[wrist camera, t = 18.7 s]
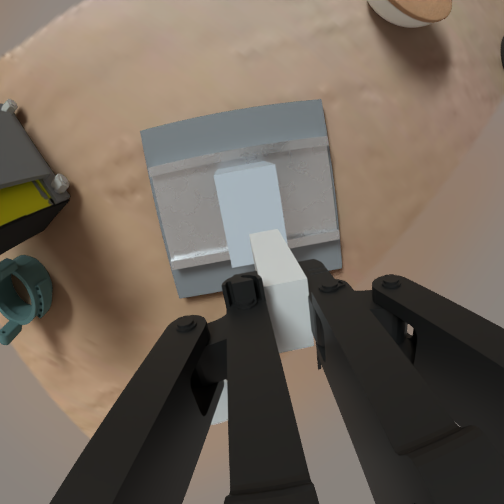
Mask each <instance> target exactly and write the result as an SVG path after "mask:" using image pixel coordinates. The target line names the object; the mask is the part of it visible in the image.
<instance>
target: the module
mask: <svg viewBox="0 0 504 504" xmlns="http://www.w3.org/2000/svg"><path fill="white" fill-rule="evenodd" d="M214 180H215V185H216V190H217V195H218V200H219V205H220V210H221V215H222V220H223V225H224V230H225V235H226V240H227V245H228V250H229V255H230V260H231V264H232V268H234V267H240V266H245V265H251V264H254V259H253V253H252V248H251V242H250V237H249V234H252V233H258V232H263V231H269V230H274V229H278V230H279V232H280V233H281V235H282V237H283V238H284V240H285V242H286V243H287V237H286V230H285V223H284V217H283V210H282V204H281V197H280V191H279V185H278V178H277V172H276V166H275V164H272V163H269V162H266V161H262V162H256V163H250V164H245V165H239V166H234V167H228V168H223V169H218V170H217V171H216V172H215V174H214ZM287 245H288V244H287Z"/></svg>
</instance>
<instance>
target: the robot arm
mask: <svg viewBox="0 0 504 504" xmlns="http://www.w3.org/2000/svg"><path fill="white" fill-rule="evenodd" d="M501 57H502V63H503V67H504V37H503V39H502V43H501ZM249 237H250V242H251V248H252V253H253V259H254V264H255V270H256V271H251V272H246V273H241V274H235V275H233V277H230V278H228V279H227V280H225V281H224V282H223V283H222V285H221V286H222V291H223V295H224V299H225V304H226V308H227V314H226V315H225V316H223V317H222V318H220V319H218V320H216V321H213V322H210V323H208V324H207V322H206V320H205V318H204V317H201V316H198V315H190V316H183V317H180V318H178V319H176V320H175V321H173V322H172V323H171V324H169V325H168V327H167V328H166V329H165V331H164V332H163V334H162V335H161V337H160V338H159V339H158V341H157V342H156V344H155V345H154V347H153V348H152V350H151V351H150V352H149V354H148V355H147V357H146V358H145V360H144V361H143V363H142V364H141V365H140V367H139V368H138V370H137V371H136V373H135V374H134V376H133V377H132V379H131V380H130V381H129V383H128V384H127V386H126V387H125V389H124V390H123V392H122V393H121V395H120V396H119V398H118V399H117V401H116V402H115V404H114V405H113V407H112V408H111V410H110V411H109V413H108V414H107V416H106V417H105V419H104V420H103V422H102V423H101V425H100V426H99V428H98V429H97V431H96V432H95V434H94V435H93V437H92V438H91V440H90V441H89V443H88V444H87V446H86V447H85V449H84V451H83V452H82V453H81V455H80V457H79V458H78V460H77V461H76V463H75V464H74V466H73V467H72V469H71V470H70V472H69V474H68V475H67V477H66V478H65V480H64V481H63V483H62V485H61V486H60V488H59V489H58V491H57V492H56V494H55V496H54V497H53V499H52V500H51V502H50V504H182V502H183V500H184V497H185V494H186V492H187V489H188V486H189V483H190V481H191V478H192V475H193V472H194V470H195V467H196V464H197V461H198V458H199V456H200V453H201V450H202V447H203V444H204V442H205V439H206V436H207V433H208V430H209V427H210V425H211V422H212V419H213V416H214V414H215V411H216V408H217V405H218V402H219V399H220V396H221V394H222V391H223V388H224V380H225V379H227V394H228V435H229V466H230V494H229V495H228V496H226V497H225V501H224V504H319V501H318V498H317V494H316V491H315V487H314V485H313V483H312V482H311V479H310V476H309V472H308V468H307V464H306V460H305V456H304V452H303V448H302V444H301V439H300V435H299V432H298V427H297V423H296V419H295V416H294V411H293V407H292V403H291V399H290V395H289V391H288V387H287V383H286V379H285V375H284V371H283V367H282V363H281V359H280V355H279V353H282V352H287V351H292V350H297V349H301V348H306V347H311V346H314V343H313V342H314V341H313V336H314V338H315V340H316V347H317V361H318V369H321V365H322V367H323V369H324V372H325V375H326V377H327V379H328V382H329V385H330V387H331V389H332V392H333V395H334V397H335V399H336V402H337V405H338V407H339V409H340V412H341V415H342V417H343V420H344V422H345V425H346V427H347V430H348V432H349V435H350V438H351V440H352V443H353V445H354V448H355V451H356V453H357V456H358V458H359V461H360V464H361V466H362V469H363V471H364V474H365V477H366V479H367V482H368V485H369V487H370V490H371V493H372V495H373V498H374V501H375V503H376V504H504V329H503V328H502V327H500V326H498V325H496V324H494V323H492V322H490V321H489V320H487V319H485V318H483V317H481V316H479V315H477V314H475V313H474V312H472V311H470V310H468V309H466V308H464V307H462V306H460V305H458V304H456V303H454V302H452V301H450V300H449V299H447V298H445V297H443V296H441V295H439V294H437V293H435V292H433V291H431V290H429V289H427V288H425V287H423V286H421V285H419V284H417V283H415V282H413V281H411V280H409V279H407V278H405V277H402V276H397V275H393V274H390V275H385V276H381V277H378V278H377V279H375V280H374V281H373V282H372V290H365V291H354V290H353V289H352V287H351V286H350V285H349V284H348V283H347V282H345V281H343V280H339V279H334V277H333V276H332V275H331V273H330V272H329V271H328V270H327V268H326V267H325V266H324V264H323V263H322V262H321V261H318V260H316V259H310V260H305V261H299V262H297V260H296V259H295V257H294V255H293V254H292V252H291V250H290V248H289V247H288V245H287V243H286V242H285V240H284V238H283V237H282V235H281V233H280V232H279V230H278V229H274V230H269V231H263V232H258V233H252V234H249ZM408 324H410V325H411V326H412V327H413V328H414V330H413V336H412V335H410V334H408V333H407V325H408ZM454 421H455V422H456V423H457V424H458V425H459V426H460V427H459V426H458V425H457V424H456V423H455V422H454Z"/></svg>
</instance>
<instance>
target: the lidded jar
mask: <svg viewBox="0 0 504 504" xmlns="http://www.w3.org/2000/svg"><path fill="white" fill-rule="evenodd" d="M367 1H368V3H369V4H370V6H371V7H372V8H373V10H374V11H375V12H376V13H377V14H378V15H379V16H381V17H382V18H383V19H385V20H387V21H388V22H390V23H393V24H395V25H398V26H401V27H408V28H416V27H423V26H427V25H430V24H432V23H434V22H439V21H441V20H443V19H445V18H446V17H447V16H448V15H449V14H450V12H451V9H452V0H367Z"/></svg>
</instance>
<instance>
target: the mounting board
mask: <svg viewBox="0 0 504 504" xmlns="http://www.w3.org/2000/svg"><path fill="white" fill-rule="evenodd" d="M140 133H141V138H142V144H143V149H144V154H145V159H146V164H147V169H148V168H150V167H154V166H158V165H162V164H166V163H170V162H175V161H179V160H184V159H188V158H193V157H198V156H203V155H208V154H213V153H218V152H223V151H228V150H234V149H239V148H245V147H251V146H257V145H263V144H270V143H276V142H283V141H290V140H298V139H306V138H314V137H323V136H327V131H326V124H325V118H324V113H323V107H322V101H321V99H319V100H307V101H297V102H288V103H280V104H272V105H265V106H258V107H251V108H245V109H239V110H233V111H227V112H221V113H216V114H211V115H206V116H201V117H196V118H191V119H187V120H182V121H178V122H174V123H170V124H165V125H161V126H157V127H153V128H150V129H146V130H142V131H140ZM327 151H328V158H329V165H330V173H331V181H332V189H333V197H334V206H335V215H336V225H337V229H338V230H339V225H338V215H337V205H336V196H335V188H334V180H333V172H332V164H331V157H330V150H329V145H327ZM148 174H149V170H148ZM149 179H150V184H151V188H152V193H153V197H154V202H155V206H156V210H157V215H158V219H159V223H160V227H161V231H162V235H163V239H164V243H165V247H166V251H167V255H168V259H169V263H170V261H171V257H170V253H169V249H168V245H167V241H166V237H165V233H164V229H163V225H162V221H161V216H160V212H159V208H158V203H157V199H156V194H155V190H154V185H153V180H152V177H150V175H149ZM290 250H291V252H292V254H293V255H294V257H295V259H296V260H297V262H299V261H305V260H310V259H316V260H318V261H321V262H322V263H323V264H324V266H325V267H326V268H327V270H328V271H330V270H335V269H339V268H342V260H341V247H340V239H338V240H333V241H327V242H322V243H317V244H311V245H306V246H301V247H295V248H290ZM170 266H171V264H170ZM171 270H172V267H171ZM251 271H256V270H255V264H251V265H245V266H240V267H234V268H232V264H231V260H225V261H220V262H215V263H209V264H204V265H198V266H193V267H187V268H182V269H177V270H172V274H173V277H174V281H175V285H176V288H177V292H178V295H179V298H185V297H191V296H197V295H203V294H209V293H214V292H220V291H222V286H221V285H222V283H223V282H224V281H225V280H227V279H228V278H230V277H233V275H235V274H241V273H246V272H251Z"/></svg>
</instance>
